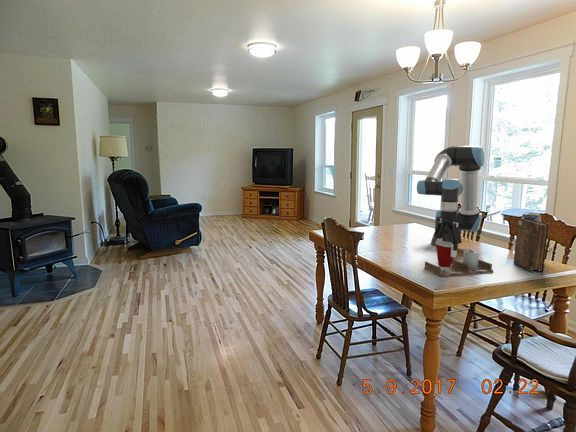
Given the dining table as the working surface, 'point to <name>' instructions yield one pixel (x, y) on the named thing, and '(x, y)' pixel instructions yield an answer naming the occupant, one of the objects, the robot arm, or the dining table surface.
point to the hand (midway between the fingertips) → (445, 253)
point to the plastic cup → (444, 253)
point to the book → (531, 244)
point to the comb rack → (459, 268)
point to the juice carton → (532, 216)
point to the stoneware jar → (471, 259)
